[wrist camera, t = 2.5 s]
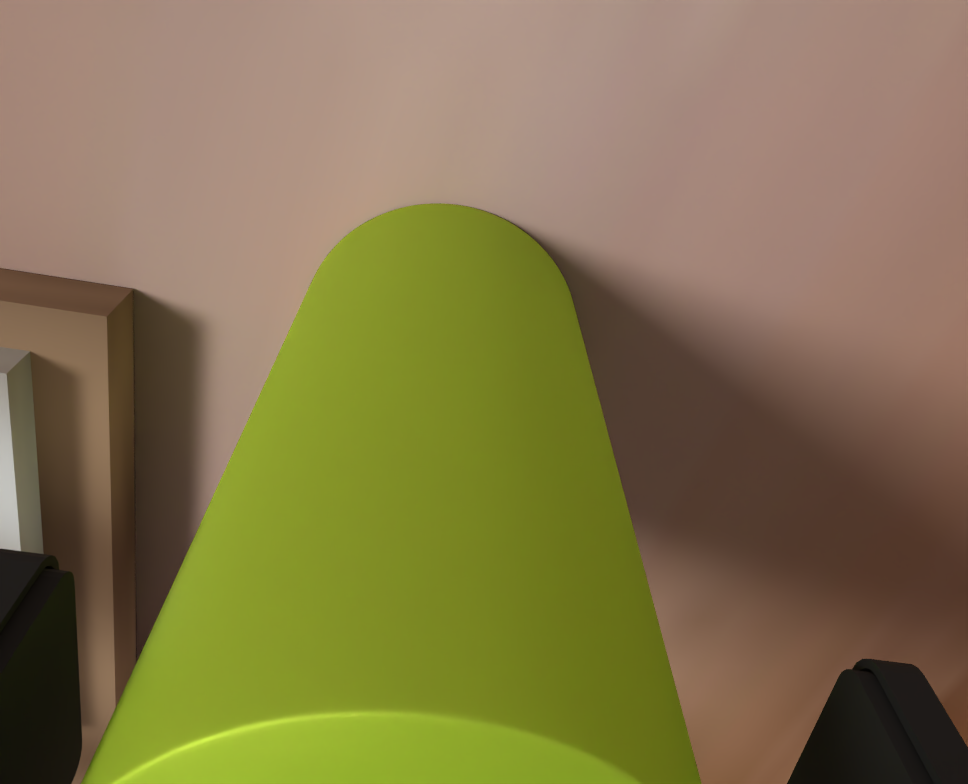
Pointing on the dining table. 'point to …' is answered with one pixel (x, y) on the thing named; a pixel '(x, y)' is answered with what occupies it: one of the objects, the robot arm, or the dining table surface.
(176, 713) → the soap dispenser
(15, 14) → the dining table surface
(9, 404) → the base
